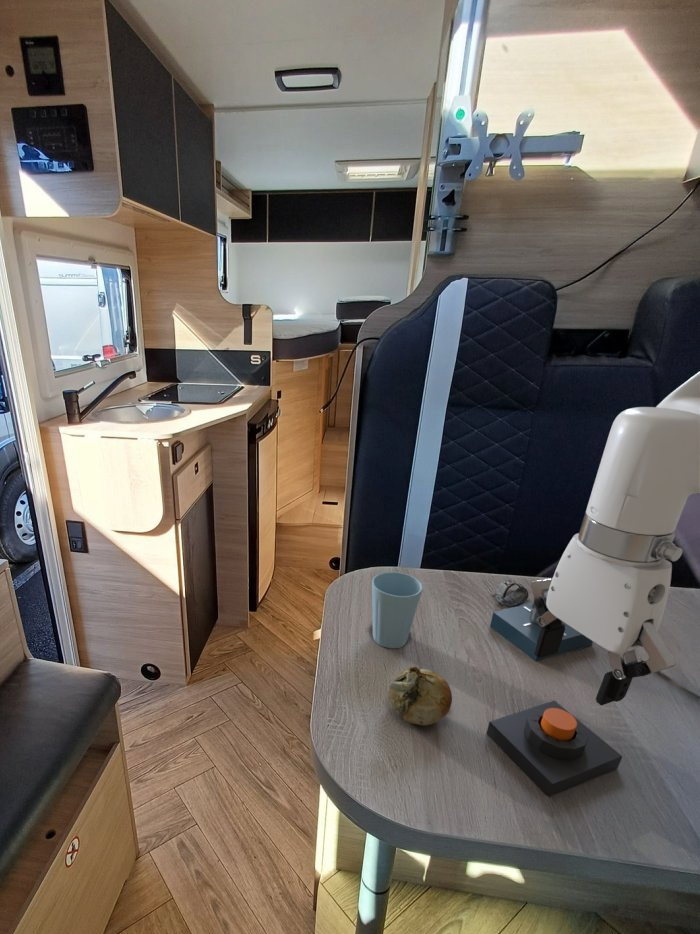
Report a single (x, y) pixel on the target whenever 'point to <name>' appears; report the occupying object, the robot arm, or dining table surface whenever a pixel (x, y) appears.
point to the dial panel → (532, 631)
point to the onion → (420, 696)
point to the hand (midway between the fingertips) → (575, 675)
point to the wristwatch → (516, 596)
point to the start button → (558, 724)
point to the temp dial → (534, 615)
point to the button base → (552, 750)
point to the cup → (394, 607)
